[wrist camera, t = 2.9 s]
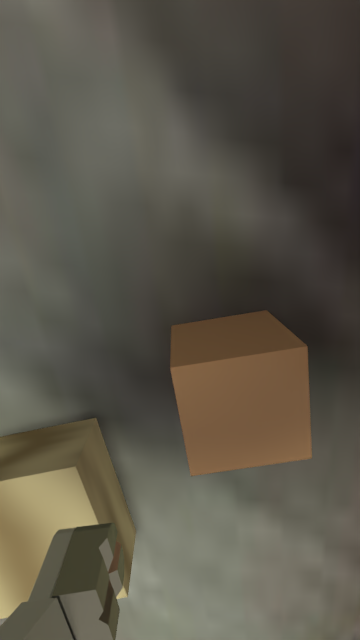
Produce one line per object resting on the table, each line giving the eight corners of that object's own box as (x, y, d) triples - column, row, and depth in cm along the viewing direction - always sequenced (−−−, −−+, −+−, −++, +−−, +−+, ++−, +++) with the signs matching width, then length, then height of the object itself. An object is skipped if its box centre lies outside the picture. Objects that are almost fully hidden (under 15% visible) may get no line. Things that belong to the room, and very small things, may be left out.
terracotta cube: (266, 309, 15) (307, 346, 11) (272, 393, 17) (311, 458, 12) (171, 325, 16) (170, 367, 11) (186, 406, 17) (191, 476, 12)
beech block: (97, 414, 17) (75, 466, 13) (136, 526, 20) (127, 596, 16) (-48, 443, 18) (-108, 502, 14) (9, 549, 20) (-29, 623, 16)
